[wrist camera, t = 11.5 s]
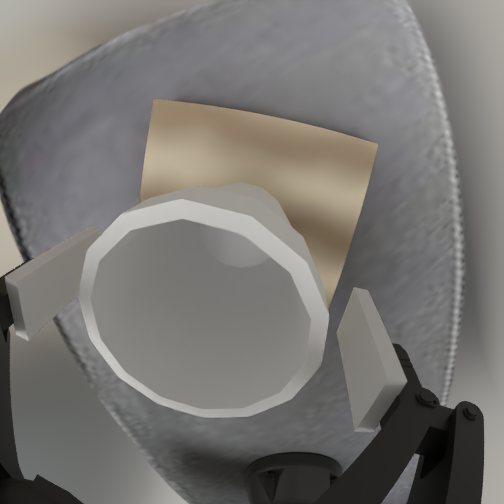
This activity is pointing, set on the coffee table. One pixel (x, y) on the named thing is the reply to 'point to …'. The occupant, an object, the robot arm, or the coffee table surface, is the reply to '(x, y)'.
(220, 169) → the wooden base
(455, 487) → the robot arm
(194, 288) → the foam cup
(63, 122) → the coffee table surface
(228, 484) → the coffee table surface
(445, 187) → the coffee table surface
